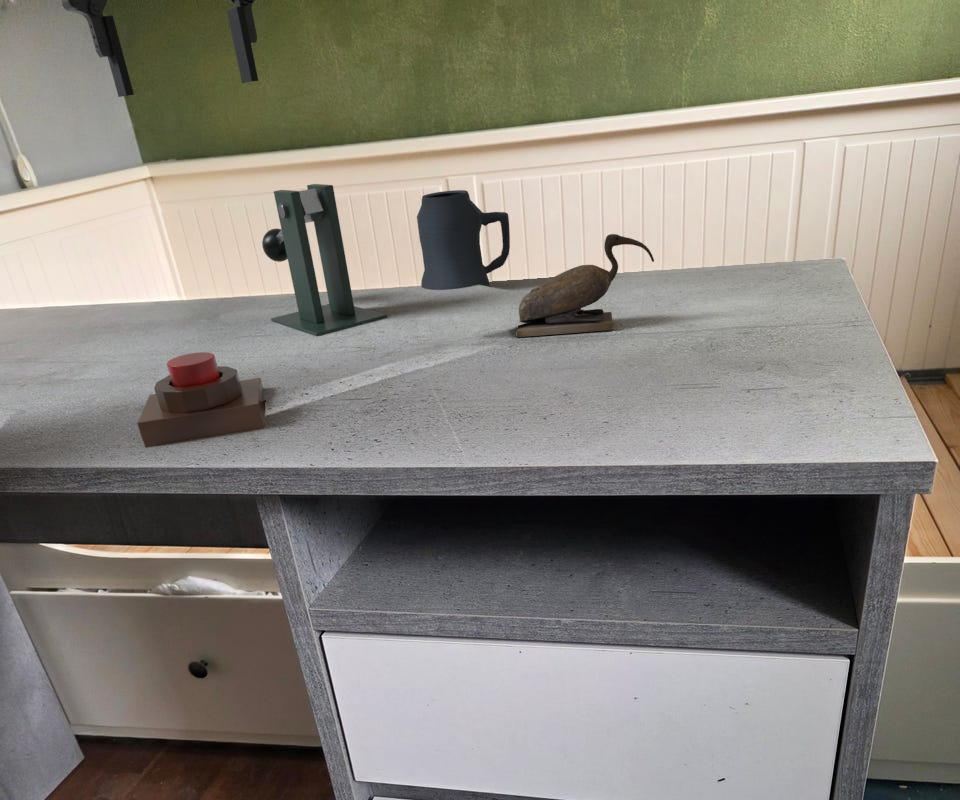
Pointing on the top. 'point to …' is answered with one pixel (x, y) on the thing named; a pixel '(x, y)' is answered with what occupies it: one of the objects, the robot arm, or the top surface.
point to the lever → (274, 237)
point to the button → (193, 369)
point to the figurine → (572, 298)
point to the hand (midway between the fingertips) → (190, 89)
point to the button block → (202, 409)
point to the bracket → (333, 263)
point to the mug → (456, 241)
